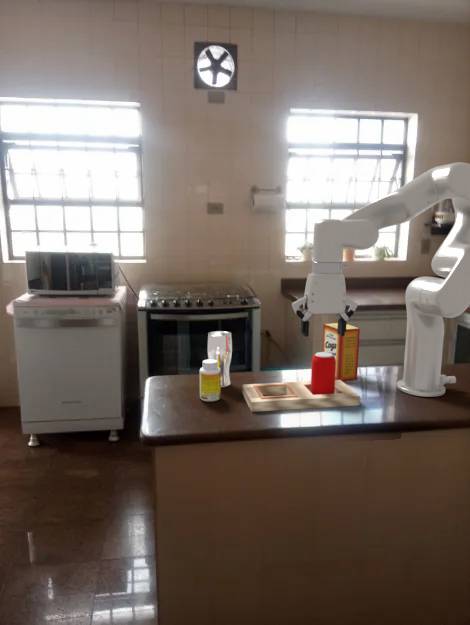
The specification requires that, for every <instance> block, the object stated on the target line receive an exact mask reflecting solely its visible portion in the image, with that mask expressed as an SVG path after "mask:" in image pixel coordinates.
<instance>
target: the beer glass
mask: <svg viewBox="0 0 470 625" xmlns="http://www.w3.org/2000/svg"><path fill="white" fill-rule="evenodd" d="M207 335H208V336H207V357H208V358H207V359H214V360H217V361H218V367H219V368H220V370H221V388H227V387H229V386H230V385H231V380H230V365H231V362H232V353H233V339H232V332H231V331H223V330H216V331H215V330H214V331H210V332H208V333H207Z"/></svg>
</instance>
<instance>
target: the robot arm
mask: <svg viewBox="0 0 470 625" xmlns="http://www.w3.org/2000/svg"><path fill="white" fill-rule="evenodd" d="M446 199H447V200H449V199H451V201H452V202H451V203H452V205H453V206H452V207H453V209H454V214H455V215H454V217H455V218H454V224H453V226H452V227H451V229H450V231H449V232H448V234H447V236H446V238H445V239H444V240H443V242H441V244H440V246H439V248H438V249H437V251H436V252H435V254H434V256H433V257H432V259H431V269H432V271H433V273H434V274H435V275H437V276H439V277H434V276H419V277H417V278H414V279H413V280H412V281H410V283H408V285H407V287H406V290H405V309H406V334H405V335H406V336H405V345H404V346H405V347H404V361H403V374H402V379H400V380H398V381H397V382H396V387H397V389H398V390H399V391H401V392H403V393H406V394H408V395H412V396H417V397H425V398H426V397H427V398H430V397H431V398H434V397H441V396H443V395H445V393H446V387H445V386H444V385H447V384H456V382H457V378H456V376H455V375H451V376H449V375H448V376H447V375H446V374H441V373H442V372H441V371H442V361H443V350H444V349H443V348H444V338H445V322H444V318H448V319H451V318H452V319H453V318H457V317H459V316H461V314H463V313H464V312H465V311H466V310H467V309H468V307H469V306H470V163H468V162H460V161H458V162H453V163H448V164H442V165H439V166H438V165H437V166H434V167H432V168H430V169H428V170H426V171H425V172H423V173H421V174H420V175H419V176H417V177H416V178H413V179H412V180H411V181H408V182H407V183H405V184H404V185H402V186H401V187H399V188H397V189H396V190H394V191H393V192H391V193H388V194H387V195H385V196H383V197H380V198H378V199H377V200H375V201H373V202H371V203H368V204H366V205H365V206H363V207H361V208H359V209H357V210H355V211H354V212H352V213H351V214H349V215H347V216H346V217H344V218H343V219H336V218H334V219H333V218H331V219H329V218H323V219H322V218H321V219H317V220H316V221H315V223H314V226H313V242H312V243H313V245H312V246H313V247H312V262H311V273H308V275H307V278H306V282H305V289H304V295H303V297H301V298H299V299H296V301H295V300H294V302H291V306H292V309H293V311H294V314H295V315H296V316H297V317H298V318H299V319H300V333H301V334H302V336H304V337H309V333H310V321H308V320H309V318H311V316H312V315H338V317H339V318H338V320H337V323H338V330H337V333H338V334H339V335H341V336H344V335H345V332H346V324H347V325H348V321H349V320H350V318H351V317H352V316H353V315H354V313H355V312H356V309H357V308H358V303H357V302H355V301H354V300H351V299H350V298H348V297H347V290H346V289H347V287H346V280H345V275H344V274H343V273H344V271H347V270H348V265H347V264H344V250H345V249H347V250H356V251H357V250H358V251H364V250H367V249H370V248H372V247H373V246H374V245H376V243H377V242H378V240H379V238H380V232H379V231H380V230H381V229H384V228H388V227H392V226H397V225H400V224H401V225H402V224H405V223H407V222H410V221H412V220H413V219H415V218H416V217H417V216H420V215H421V214H423V213H424V212H426V211H427V210H429V209H431V208H433V207H434V206H435V205H437V204H439V203H440V202H442V201H445V200H446ZM440 277H442V278H440ZM302 305H303V307H302V308H303V310H304V311H303V312H302V311H301V309H300V307H301V306H302ZM346 305H348V306H349V308H348V309H347V310H346Z"/></svg>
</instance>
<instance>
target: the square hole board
mask: <svg viewBox="0 0 470 625" xmlns="http://www.w3.org/2000/svg"><path fill="white" fill-rule="evenodd" d="M241 385H242V386H241V394H242V396H243V399H244V400H245V402H246V404H247V406H248V408H249V409H250V411H251V413H253V412H270V411H286V410H303V409H305V410H306V409H319V408H335V407H350V406H351V407H354V406H355V407H356V406H360V401H361V396H360V395H359V394H358V393H357V392H356V391H355V390H353V389H352V388H351V387H350V386H349V385H347V383H345V381H343V382H342V381H341V380H335V394H320V395H313V394H312V393H311V380H309V381H308V380H307V381H306V380H305V381H291V382H290V381H289V382H288V381H287V382H269V383H268V382H267V383H247V384H246V383H245V384H241Z"/></svg>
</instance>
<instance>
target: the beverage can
mask: <svg viewBox="0 0 470 625" xmlns="http://www.w3.org/2000/svg"><path fill="white" fill-rule="evenodd" d="M335 372H336V359H335V357H334V355H333V354H331V353H328V352H322V351H319V352H318V351H317V352H316V353H315V354H314V355H313V357H312V358H311V373H310V374H311V376H310V381H311V393H312V394H313V395H320V394H335Z"/></svg>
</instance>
